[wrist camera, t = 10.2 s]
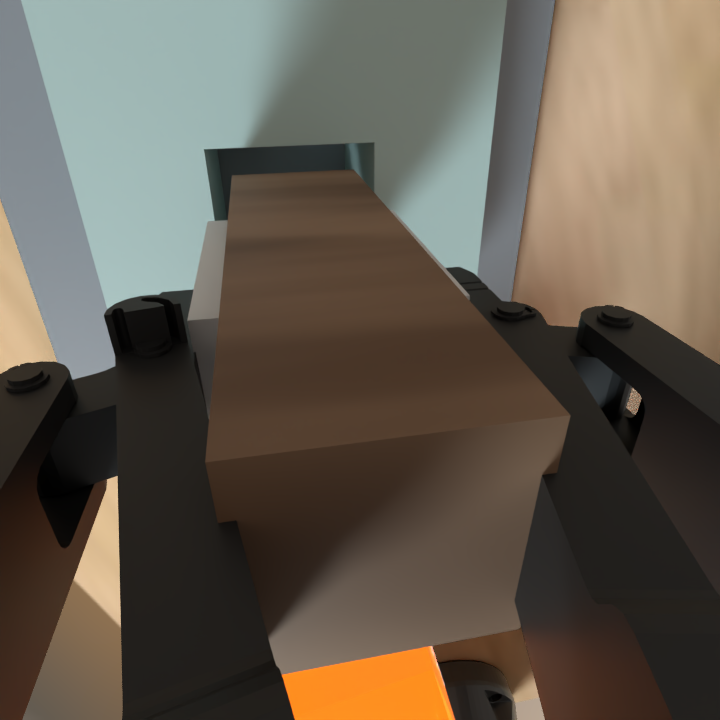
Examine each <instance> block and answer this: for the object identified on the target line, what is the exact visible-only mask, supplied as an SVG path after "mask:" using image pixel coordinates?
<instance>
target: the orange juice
mask: <svg viewBox="0 0 720 720" xmlns="http://www.w3.org/2000/svg"><path fill="white" fill-rule="evenodd" d="M433 650H434V649H433V648H432V646H429V647H424V648H419V649H414V650H408V651H403V652H398V653H393V654H388V655H382V656H377V657H372V658H367V659H362V660H356V661H351V662H346V663H341V664H336V665H330V666H325V667H320V668H315V669H310V670H304V671H299V672H294V673H289V674H284V675H282V677H283V680H284V683H285V687H286V690H287V693H288V697H289V700H290V704H291V707H292V711H293V715H294V718H295V720H455V718H454V715H453V712H452V708H451V705H450V702H449V699H448V696H447V692H446V689H445V686H444V685H445V684H444V682H443V679H442V676H441V673H440V670H439V667H438V663H437V660H436V657H435V654H434V653H435V652H434V651H433Z"/></svg>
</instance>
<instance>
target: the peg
mask: <svg viewBox="0 0 720 720" xmlns="http://www.w3.org/2000/svg"><path fill="white" fill-rule="evenodd" d="M570 416H571V415H570V414H569V413H568V412H567V411H566V410H565V408H564V407H563V406H562V405H561V404H560V403H559V402H558V400H557V399H556V398H555V397H554V396H553V395H552V394H551V392H550V391H549V390H548V389H547V388H546V387H545V386H544V385H543V383H542V382H541V381H540V380H539V379H538V378H537V377H536V375H535V374H534V373H533V372H532V371H531V370H530V369H529V368H528V366H527V365H526V364H525V363H524V362H523V361H522V360H521V358H520V357H519V356H518V355H517V354H516V353H515V352H514V351H513V349H512V348H511V347H510V346H509V345H508V344H507V343H506V341H505V340H504V339H503V338H502V337H501V336H500V335H499V334H498V332H497V331H496V330H495V329H494V328H493V327H492V326H491V324H490V323H489V322H488V321H487V320H486V319H485V318H484V317H483V315H482V314H481V313H480V312H479V311H478V310H477V309H476V307H475V306H474V305H473V304H472V303H471V302H470V301H469V300H468V298H467V297H466V296H465V295H464V294H463V293H462V292H461V290H460V289H459V288H458V287H457V286H456V285H455V284H454V283H453V281H452V280H451V279H450V278H449V277H448V276H447V275H446V273H445V272H444V271H443V270H442V269H441V268H440V267H439V265H438V264H437V263H436V262H435V261H434V260H433V259H432V258H431V256H430V255H429V254H428V253H427V252H426V251H425V250H424V248H423V247H422V246H421V245H420V244H419V243H418V242H417V241H416V239H415V238H414V237H413V236H412V235H411V234H410V233H409V231H408V230H407V229H406V228H405V227H404V226H403V225H402V224H401V222H400V221H399V220H398V219H397V218H396V217H395V216H394V214H393V213H392V212H391V211H390V210H389V209H388V208H387V207H386V205H385V204H384V203H383V202H382V201H381V200H380V199H379V197H378V196H377V195H376V194H375V193H374V192H373V191H372V190H371V188H370V187H369V186H368V185H367V184H366V183H365V182H364V180H363V179H362V178H361V177H360V176H359V175H358V174H357V173H356V171H355V170H354V169H351V170H330V171H310V172H289V173H269V174H248V175H232V181H231V191H230V202H229V213H228V223H227V234H226V245H225V255H224V266H223V277H222V288H221V298H220V309H219V320H218V330H217V341H216V352H215V362H214V373H213V384H212V395H211V405H210V416H209V427H208V437H207V448H206V459H205V464H206V469H207V474H208V478H209V483H210V488H211V493H212V497H213V502H214V507H215V512H216V517H217V521H218V523H222V522H228V521H235V520H236V521H237V524H238V528H239V532H240V535H241V539H242V543H243V547H244V550H245V554H246V558H247V561H248V565H249V569H250V572H251V576H252V580H253V583H254V587H255V591H256V594H257V598H258V602H259V606H260V609H261V613H262V617H263V620H264V624H265V628H266V631H267V635H268V639H269V642H270V646H271V650H272V653H273V657H274V660H275V663H276V666H277V667H279V669H280V671H281V674H282V675H284V674H289V673H294V672H299V671H304V670H310V669H315V668H320V667H325V666H330V665H336V664H341V663H346V662H351V661H356V660H362V659H367V658H372V657H377V656H382V655H388V654H393V653H398V652H403V651H408V650H414V649H419V648H424V647H429V646H434V645H440V644H445V643H450V642H455V641H460V640H465V639H471V638H476V637H481V636H486V635H491V634H497V633H502V632H507V631H512V630H517V629H520V626H521V624H520V620H519V616H518V612H517V609H516V605H515V601H514V600H515V595H516V591H517V586H518V582H519V577H520V573H521V568H522V564H523V559H524V554H525V550H526V545H527V541H528V536H529V532H530V527H531V522H532V518H533V513H534V509H535V504H536V500H537V495H538V490H539V486H540V481H541V477H542V475H545V474H552V473H557V470H558V466H559V462H560V458H561V454H562V449H563V445H564V441H565V437H566V433H567V428H568V424H569V420H570Z"/></svg>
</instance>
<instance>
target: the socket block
mask: <svg viewBox="0 0 720 720" xmlns="http://www.w3.org/2000/svg"><path fill="white" fill-rule="evenodd" d="M554 4H555V0H0V199H1V202H2V205H3V208H4V211H5V214H6V216H7V219H8V222H9V225H10V228H11V231H12V233H13V236H14V239H15V242H16V245H17V248H18V251H19V253H20V256H21V259H22V262H23V265H24V268H25V270H26V273H27V276H28V279H29V282H30V285H31V288H32V290H33V293H34V296H35V299H36V302H37V305H38V307H39V310H40V313H41V316H42V319H43V322H44V325H45V327H46V330H47V333H48V336H49V339H50V342H51V345H52V347H53V350H54V353H55V356H56V359H57V362H58V363H60V364H64V365H65V366H66V367H67V368H68V369H69V371H70V374H71V377H72V380H73V379H77V378H81V377H85V376H89V375H92V374H96V373H99V372H102V371H105V370H108V369H110V368H112V367H114V366H115V354H114V350H113V347H112V343H111V340H110V336H109V333H108V329H107V326H106V322H105V319H104V314H105V312H106V310H107V309H108V308H110V307H111V306H112V305H114V304H116V303H118V302H121V301H123V300H126V299H129V298H133V297H138V296H144V295H159V294H160V293H162V292H168V291H181V290H193V289H194V285H195V280H196V276H197V271H198V266H199V261H200V256H201V251H202V246H203V242H204V237H205V232H206V227H207V222H208V221H223V220H228V213H229V202H230V191H231V181H232V175H248V174H269V173H289V172H310V171H330V170H351V169H354V170H355V171H356V173H357V174H358V175H359V176H360V177H361V178H362V179H363V180H364V182H365V183H366V184H367V185H368V186H369V187H370V188H371V190H372V191H373V192H374V193H375V194H376V195H377V196H378V197H379V199H380V200H381V201H382V202H383V203H384V204H385V205H386V207H387V208H388V209H389V210H393V211H394V212H395V213H396V214H397V215H398V216H399V217H400V219H401V220H402V221H403V222H404V223H405V224H406V225H407V226H408V227H409V229H410V230H411V231H412V232H413V233H414V234H415V235H416V236H417V237H418V238H419V240H420V241H421V242H422V243H423V244H424V245H425V246H426V247H427V248H428V250H429V251H430V252H431V253H432V254H433V255H434V256H435V257H436V258H437V260H438V261H439V262H440V263H441V264H442V265H443V266H444V267H445V268H449V267H461V268H464V269H466V270H468V271H470V272H473V273H474V274H475V275H476V276H477V277H478V278H479V279H480V280H481V281H482V283H484V284H485V285H486V286H487V287H488V289H490V290H491V291H492V292H493V293H494V294H495V295H496V296H497V297H498V298H499V299H500V300H502V301H509V302H511V297H512V290H513V283H514V277H515V270H516V263H517V256H518V249H519V243H520V236H521V229H522V222H523V215H524V208H525V202H526V195H527V188H528V181H529V174H530V168H531V161H532V154H533V147H534V140H535V134H536V127H537V120H538V113H539V106H540V100H541V93H542V86H543V79H544V72H545V66H546V59H547V52H548V45H549V38H550V32H551V25H552V18H553V11H554Z"/></svg>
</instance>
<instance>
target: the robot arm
mask: <svg viewBox="0 0 720 720" xmlns="http://www.w3.org/2000/svg"><path fill="white" fill-rule="evenodd" d="M390 211H391V212H392V213H393V214H394V216H395V217H396V218H397V219H398V220H399V221H400V222H401V224H402V225H403V226H404V227H405V228H406V229H407V230H408V231H409V233H410V234H411V235H412V236H413V237H414V238H415V239H416V241H417V242H418V243H419V244H420V245H421V246H422V247H423V248H424V250H425V251H426V252H427V253H428V254H429V255H430V256H431V258H432V259H433V260H434V261H435V262H436V263H437V264H438V265H439V267H440V268H441V269H442V270H443V271H444V272H445V273H446V275H447V276H448V277H449V278H450V279H451V280H452V281H453V283H454V284H455V285H456V286H457V287H458V288H459V289H460V290H461V292H462V293H463V294H464V295H465V296H466V297H467V298H468V300H469V301H470V302H471V303H472V304H473V305H474V306H475V307H476V309H477V310H478V311H479V312H480V313H481V314H482V315H483V317H484V318H485V319H486V320H487V321H488V322H489V323H490V324H491V326H492V327H493V328H494V329H495V330H496V331H497V332H498V334H499V335H500V336H501V337H502V338H503V339H504V340H505V341H506V343H507V344H508V345H509V346H510V347H511V348H512V349H513V351H514V352H515V353H516V354H517V355H518V356H519V357H520V358H521V360H522V361H523V362H524V363H525V364H526V365H527V366H528V368H529V369H530V370H531V371H532V372H533V373H534V374H535V375H536V377H537V378H538V379H539V380H540V381H541V382H542V383H543V385H544V386H545V387H546V388H547V389H548V390H549V391H550V392H551V394H552V395H553V396H554V397H555V398H556V399H557V400H558V402H559V403H560V404H561V405H562V406H563V407H564V408H565V410H566V411H567V412H568V413H569V414H570V415H571V416H570V420H569V424H568V428H567V433H566V437H565V441H564V445H563V449H562V454H561V458H560V462H559V466H558V470H557V473H552V474H545V475H542V477H541V481H540V486H539V490H538V495H537V500H536V504H535V509H534V513H533V518H532V522H531V527H530V532H529V536H528V541H527V545H526V550H525V554H524V559H523V564H522V568H521V573H520V577H519V582H518V586H517V591H516V595H515V600H514V601H515V605H516V609H517V612H518V616H519V620H520V624H521V628H522V632H523V636H524V640H525V643H526V647H527V651H528V655H529V659H530V663H531V667H532V671H533V674H534V678H535V682H536V686H537V690H538V694H539V698H540V702H541V705H542V709H543V713H544V717H545V720H720V365H719V364H717V363H715V362H714V361H712V360H711V359H709V358H708V357H706V356H704V355H703V354H701V353H700V352H698V351H697V350H695V349H694V348H692V347H690V346H689V345H687V344H686V343H684V342H683V341H681V340H679V339H678V338H676V337H675V336H673V335H672V334H670V333H669V332H667V331H665V330H664V329H662V328H661V327H659V326H658V325H656V324H654V323H653V322H651V321H650V320H648V319H647V318H645V317H644V316H642V315H639V314H637V313H635V312H633V311H630V310H626V309H624V308H623V307H619V306H615V307H614V306H613V305H605V306H595V307H591V308H587V309H585V310H584V311H583V312H581V316H580V321H579V325H578V327H564V326H550V325H548V324H547V323H546V321H545V319H544V318H543V316H542V315H541V313H539V312H538V311H537V310H536V309H535V308H533V307H531V306H528V305H525V304H521V303H517V302H509V301H502V300H500V299H499V298H498V297H497V296H496V295H495V294H494V293H493V292H492V291H491V290H490V289H488V287H487V286H486V285H485V284H484V283H482V281H481V280H480V279H479V278H478V277H477V276H476V275H475V274H474V273H473V272H470V271H468V270H466V269H464V268H461V267H449V268H445V267H444V266H443V265H442V264H441V263H440V262H439V261H438V260H437V258H436V257H435V256H434V255H433V254H432V253H431V252H430V251H429V250H428V248H427V247H426V246H425V245H424V244H423V243H422V242H421V241H420V240H419V238H418V237H417V236H416V235H415V234H414V233H413V232H412V231H411V230H410V229H409V227H408V226H407V225H406V224H405V223H404V222H403V221H402V220H401V219H400V217H399V216H398V215H397V214H396V213H395V212H394V211H393V210H390ZM227 223H228V220H223V221H208V222H207V227H206V232H205V237H204V242H203V246H202V251H201V256H200V261H199V266H198V271H197V276H196V280H195V285H194V289H193V290H181V291H168V292H162V293H160V294H159V295H144V296H138V297H133V298H129V299H126V300H123V301H121V302H118V303H116V304H114V305H112V306H111V307H110V308H108V309H107V310H106V312H105V314H104V319H105V322H106V326H107V329H108V333H109V336H110V340H111V343H112V347H113V350H114V354H115V366H114V367H112V368H110V369H108V370H105V371H102V372H99V373H96V374H92V375H89V376H85V377H81V378H77V379H73V380H72V377H71V374H70V371H69V369H68V368H67V367H66V366H65V365H64V364H60V363H57V362H36V363H25V364H21V365H20V366H18V365H17V366H15V367H12V368H10V369H8V370H7V371H5V372H4V373H2V374H0V720H22V719H23V716H24V713H25V710H26V708H27V705H28V702H29V700H30V697H31V694H32V691H33V689H34V686H35V683H36V680H37V677H38V675H39V672H40V669H41V667H42V664H43V661H44V658H45V656H46V653H47V650H48V647H49V644H50V642H51V639H52V636H53V633H54V631H55V628H56V625H57V622H58V620H59V617H60V614H61V612H62V609H63V606H64V603H65V601H66V598H67V595H68V592H69V590H70V587H71V584H72V581H73V579H74V576H75V573H76V571H77V568H78V565H79V562H80V560H81V557H82V554H83V551H84V549H85V546H86V543H87V540H88V538H89V535H90V532H91V529H92V527H93V524H94V521H95V518H96V516H97V513H98V510H99V507H100V505H101V502H102V499H103V496H104V494H105V491H106V485H107V479H109V478H112V477H115V476H118V510H119V555H120V600H121V640H122V641H121V642H122V643H121V645H122V685H123V686H122V689H123V716H122V720H295V718H294V715H293V711H292V707H291V704H290V700H289V697H288V693H287V690H286V687H285V683H284V680H283V677H282V674H281V671H280V669H279V667H277V666H276V663H275V660H274V657H273V653H272V650H271V646H270V642H269V639H268V635H267V631H266V628H265V624H264V620H263V617H262V613H261V609H260V606H259V602H258V598H257V594H256V591H255V587H254V583H253V580H252V576H251V572H250V569H249V565H248V561H247V558H246V554H245V550H244V547H243V543H242V539H241V535H240V532H239V528H238V524H237V521H236V520H235V521H228V522H222V523H218V521H217V517H216V512H215V507H214V502H213V497H212V493H211V488H210V483H209V478H208V474H207V469H206V464H205V459H206V448H207V437H208V427H209V416H210V405H211V395H212V384H213V373H214V362H215V352H216V341H217V330H218V320H219V309H220V298H221V288H222V277H223V266H224V255H225V245H226V234H227ZM632 387H633V388H634V389H635V390H636V391H637V392H638V393H639V394H640V395H641V397H642V399H641V403H640V406H639V409H638V412H637V413H636V415H634V414H632V413H631V412H630V411H629V410H628V409H627V408H626V406H627V403H628V400H629V396H630V393H631V390H632ZM438 667H439V670H440V673H441V676H442V679H443V682H444V684H445V685H444V686H445V689H446V692H447V696H448V699H449V702H450V705H451V708H452V712H453V715H454V718H455V720H517V716H516V707H515V702H514V698H513V696H512V693H511V691H510V688H509V686H508V684H507V681H506V679H505V677H504V675H503V674H502V672H500V671H499V670H498V669H497V668H495V667H493V666H491V665H488V664H485V663H480V662H473V661H456V662H447V663H441V664H438Z"/></svg>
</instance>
